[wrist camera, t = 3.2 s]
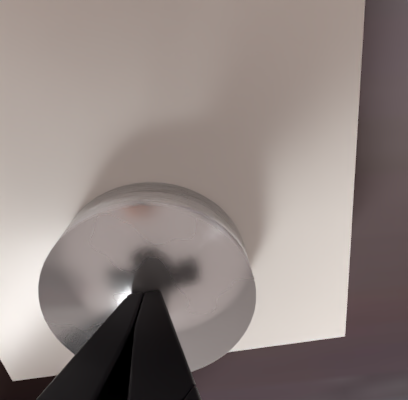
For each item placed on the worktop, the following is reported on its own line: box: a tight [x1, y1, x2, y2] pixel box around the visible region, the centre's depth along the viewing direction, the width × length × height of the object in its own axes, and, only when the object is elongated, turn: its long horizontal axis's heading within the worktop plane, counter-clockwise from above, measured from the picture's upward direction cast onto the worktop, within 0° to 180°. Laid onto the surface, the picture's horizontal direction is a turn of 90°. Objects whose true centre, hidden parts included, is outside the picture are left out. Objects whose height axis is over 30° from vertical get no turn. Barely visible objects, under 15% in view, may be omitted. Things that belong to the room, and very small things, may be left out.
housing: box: [0, 0, 365, 381], centre depth 9 cm, size 21×12×4 cm, turn 8°
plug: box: [38, 182, 256, 372], centre depth 11 cm, size 6×6×5 cm
